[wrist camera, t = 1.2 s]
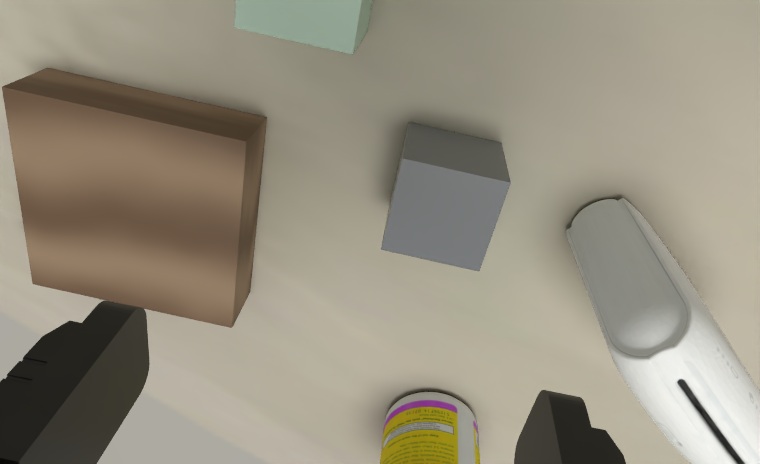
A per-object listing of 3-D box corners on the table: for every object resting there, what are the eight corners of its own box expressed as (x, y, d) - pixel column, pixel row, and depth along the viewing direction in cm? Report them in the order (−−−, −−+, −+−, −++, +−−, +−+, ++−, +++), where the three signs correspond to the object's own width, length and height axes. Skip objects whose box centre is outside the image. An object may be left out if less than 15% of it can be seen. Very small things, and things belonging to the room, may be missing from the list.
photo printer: (707, 307, 33) (830, 496, 23) (639, 338, 35) (723, 527, 24) (624, 180, 30) (722, 333, 19) (552, 222, 32) (606, 383, 21)
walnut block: (52, 66, 30) (2, 86, 27) (268, 115, 31) (246, 141, 27) (71, 248, 37) (32, 284, 33) (251, 288, 37) (232, 327, 33)
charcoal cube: (409, 121, 30) (402, 158, 25) (501, 142, 30) (510, 182, 25) (389, 203, 32) (381, 249, 28) (474, 222, 32) (479, 271, 28)
